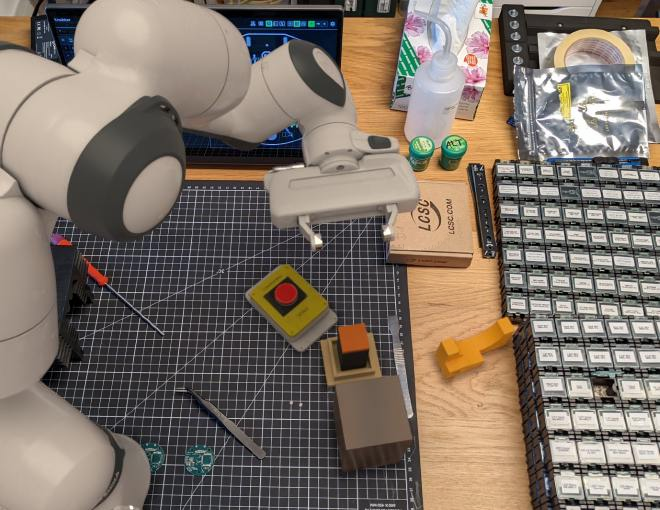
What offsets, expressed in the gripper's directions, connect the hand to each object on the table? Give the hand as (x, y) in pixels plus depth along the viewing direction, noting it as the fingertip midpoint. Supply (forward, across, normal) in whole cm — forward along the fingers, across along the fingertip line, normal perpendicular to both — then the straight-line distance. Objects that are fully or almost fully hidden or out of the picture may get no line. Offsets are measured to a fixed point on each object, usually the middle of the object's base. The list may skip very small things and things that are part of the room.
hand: (353, 244), depth 80 cm
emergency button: (-6, -9, +30) cm, 32 cm away
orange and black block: (+5, 0, +29) cm, 29 cm away
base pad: (+5, 0, +30) cm, 30 cm away
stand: (+18, 0, +30) cm, 35 cm away
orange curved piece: (+7, +20, +30) cm, 37 cm away
